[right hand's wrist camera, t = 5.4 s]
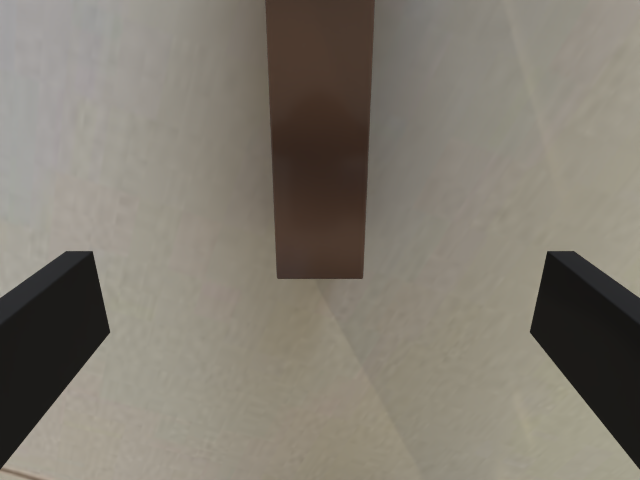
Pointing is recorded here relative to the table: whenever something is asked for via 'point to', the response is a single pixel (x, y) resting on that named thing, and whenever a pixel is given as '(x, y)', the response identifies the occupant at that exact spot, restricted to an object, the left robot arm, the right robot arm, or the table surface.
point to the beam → (320, 133)
